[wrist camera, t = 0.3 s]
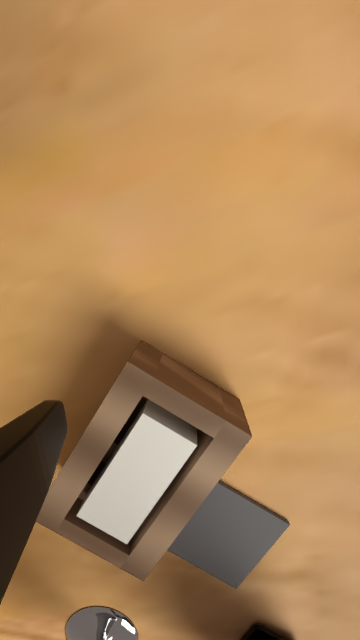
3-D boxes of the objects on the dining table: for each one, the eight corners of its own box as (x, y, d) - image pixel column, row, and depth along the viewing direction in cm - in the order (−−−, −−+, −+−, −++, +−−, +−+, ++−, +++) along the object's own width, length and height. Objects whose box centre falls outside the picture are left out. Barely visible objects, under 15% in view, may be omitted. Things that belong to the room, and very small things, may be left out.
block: (132, 519, 22) (126, 544, 20) (86, 493, 22) (76, 515, 20) (197, 428, 21) (197, 445, 19) (148, 398, 20) (142, 413, 18)
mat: (235, 584, 26) (236, 588, 26) (159, 540, 26) (158, 545, 26) (288, 521, 25) (289, 525, 25) (208, 474, 25) (208, 477, 24)
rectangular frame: (153, 520, 26) (143, 581, 21) (63, 469, 25) (31, 518, 20) (239, 400, 23) (252, 436, 18) (142, 340, 23) (127, 361, 18)
